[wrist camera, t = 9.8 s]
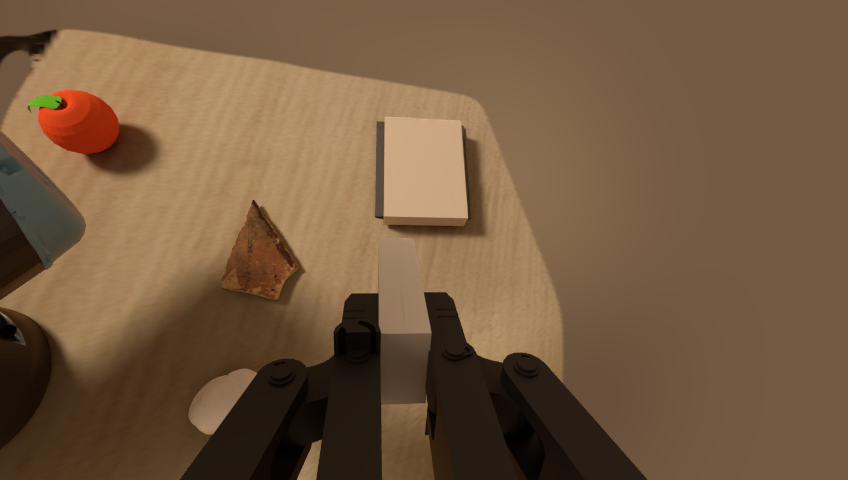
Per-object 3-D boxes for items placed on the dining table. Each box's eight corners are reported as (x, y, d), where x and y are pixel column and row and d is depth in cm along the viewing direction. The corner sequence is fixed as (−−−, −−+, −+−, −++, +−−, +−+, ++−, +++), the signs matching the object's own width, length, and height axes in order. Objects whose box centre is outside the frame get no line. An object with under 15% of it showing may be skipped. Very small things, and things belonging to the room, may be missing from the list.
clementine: (49, 161, 46) (-5, 123, 39) (70, 113, 48) (22, 69, 42) (122, 167, 47) (80, 131, 40) (139, 120, 49) (102, 78, 42)
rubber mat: (375, 217, 48) (375, 216, 48) (376, 123, 53) (376, 121, 53) (469, 219, 50) (470, 218, 49) (462, 127, 55) (463, 125, 54)
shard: (256, 204, 48) (252, 197, 46) (317, 219, 48) (315, 213, 46) (221, 289, 44) (215, 285, 42) (288, 304, 44) (285, 301, 42)
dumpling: (211, 443, 38) (194, 449, 34) (190, 395, 39) (171, 396, 36) (278, 401, 40) (269, 402, 36) (256, 356, 41) (245, 354, 38)
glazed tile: (383, 216, 45) (384, 116, 50) (383, 224, 48) (384, 129, 53) (468, 218, 46) (461, 120, 51) (463, 226, 49) (456, 132, 54)
